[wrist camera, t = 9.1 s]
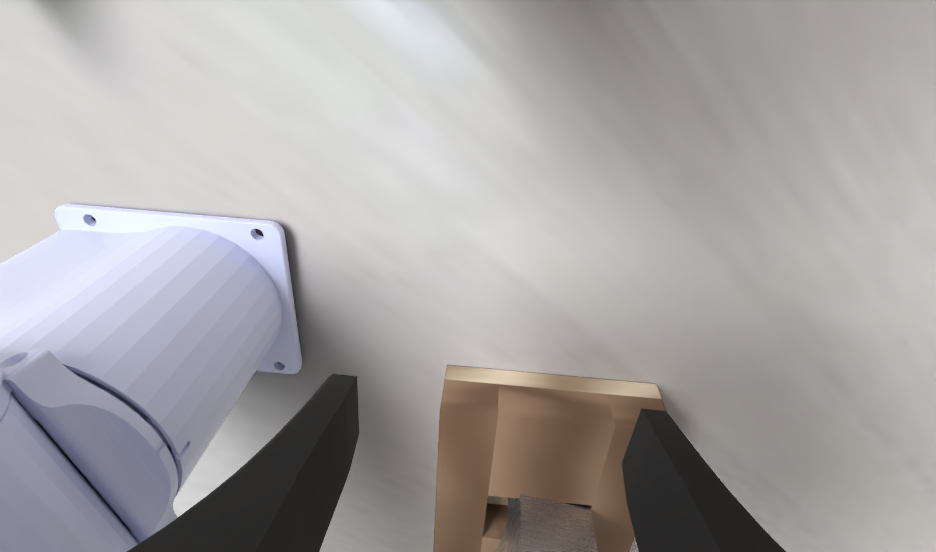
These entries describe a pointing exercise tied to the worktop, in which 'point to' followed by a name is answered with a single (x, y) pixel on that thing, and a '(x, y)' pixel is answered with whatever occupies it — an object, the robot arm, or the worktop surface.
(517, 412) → the wooden slotted board
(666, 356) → the worktop surface
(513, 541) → the grey block
